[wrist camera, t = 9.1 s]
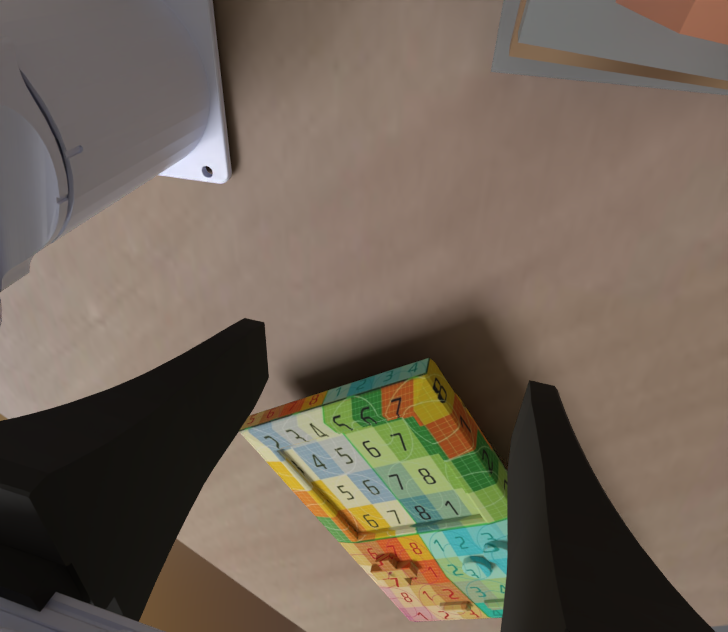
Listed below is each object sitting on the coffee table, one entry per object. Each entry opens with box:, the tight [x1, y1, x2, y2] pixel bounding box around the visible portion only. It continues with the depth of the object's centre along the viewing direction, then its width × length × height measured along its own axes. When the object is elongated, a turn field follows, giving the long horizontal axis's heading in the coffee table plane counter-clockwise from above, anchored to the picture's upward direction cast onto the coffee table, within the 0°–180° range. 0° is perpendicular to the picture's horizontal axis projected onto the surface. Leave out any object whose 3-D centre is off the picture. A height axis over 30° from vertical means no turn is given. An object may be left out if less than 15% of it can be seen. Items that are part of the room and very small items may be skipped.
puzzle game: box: [239, 358, 507, 622], centre depth 30 cm, size 12×5×20 cm
